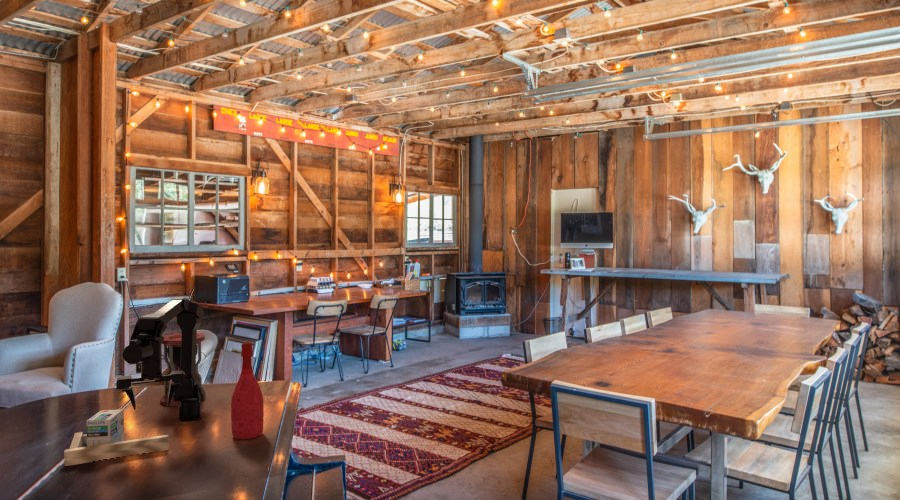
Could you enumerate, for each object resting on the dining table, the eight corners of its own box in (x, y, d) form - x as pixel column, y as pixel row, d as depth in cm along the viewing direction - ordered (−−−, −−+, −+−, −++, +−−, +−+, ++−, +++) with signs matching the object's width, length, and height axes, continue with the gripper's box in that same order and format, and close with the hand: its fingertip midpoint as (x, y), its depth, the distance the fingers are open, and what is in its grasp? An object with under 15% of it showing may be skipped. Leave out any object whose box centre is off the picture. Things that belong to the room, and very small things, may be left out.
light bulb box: (111, 456, 169) (110, 419, 168) (85, 457, 167) (85, 420, 167) (125, 443, 179) (124, 408, 179) (101, 444, 178) (100, 409, 178)
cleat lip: (107, 440, 181) (107, 431, 181) (107, 442, 180) (107, 432, 180) (83, 444, 178) (82, 434, 178) (82, 445, 177) (82, 436, 177)
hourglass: (176, 394, 234) (175, 332, 234) (213, 395, 232) (213, 333, 231) (150, 405, 218) (149, 339, 218) (190, 407, 216) (189, 340, 215)
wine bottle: (270, 432, 188) (269, 341, 187) (248, 442, 179) (247, 346, 178) (247, 428, 192) (246, 338, 192) (224, 438, 183) (223, 343, 183)
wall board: (166, 432, 188) (166, 420, 188) (168, 449, 173) (168, 436, 173) (71, 446, 176) (71, 433, 176) (64, 466, 161) (64, 451, 161)
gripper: (183, 349, 190) (183, 397, 190) (117, 355, 181) (118, 404, 181) (185, 355, 180) (185, 405, 180) (115, 362, 171) (116, 414, 171)
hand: (151, 407), depth 178 cm, fingers open, 9 cm apart
